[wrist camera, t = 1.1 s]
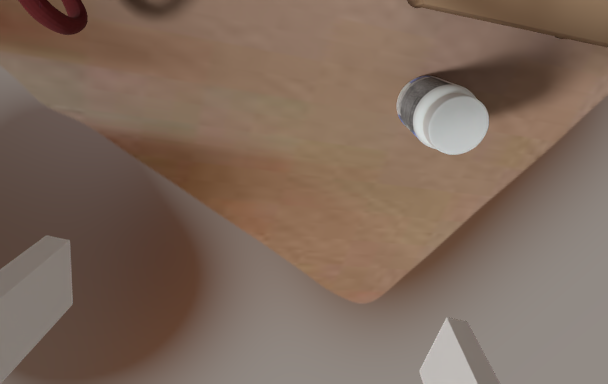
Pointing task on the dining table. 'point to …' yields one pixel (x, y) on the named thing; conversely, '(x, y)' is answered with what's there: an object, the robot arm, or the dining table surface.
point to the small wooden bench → (535, 15)
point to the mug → (58, 15)
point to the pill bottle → (442, 114)
